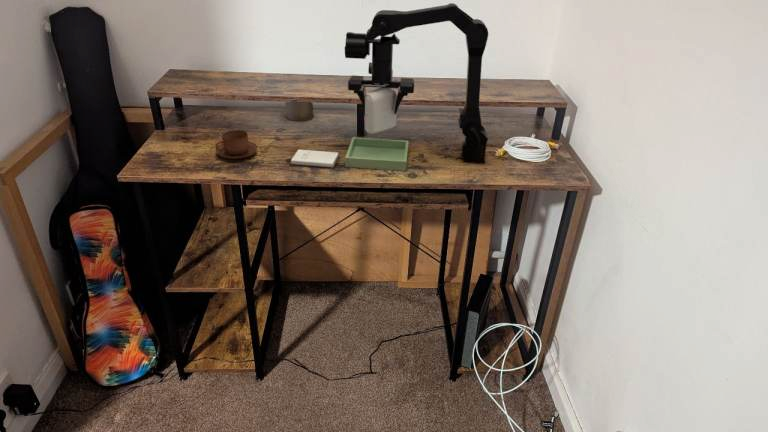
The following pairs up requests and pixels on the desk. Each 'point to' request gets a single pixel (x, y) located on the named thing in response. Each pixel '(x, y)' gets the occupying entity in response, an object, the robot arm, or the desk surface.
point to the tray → (377, 154)
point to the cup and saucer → (235, 145)
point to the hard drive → (315, 158)
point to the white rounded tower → (380, 110)
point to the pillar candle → (299, 111)
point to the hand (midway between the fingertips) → (380, 113)
